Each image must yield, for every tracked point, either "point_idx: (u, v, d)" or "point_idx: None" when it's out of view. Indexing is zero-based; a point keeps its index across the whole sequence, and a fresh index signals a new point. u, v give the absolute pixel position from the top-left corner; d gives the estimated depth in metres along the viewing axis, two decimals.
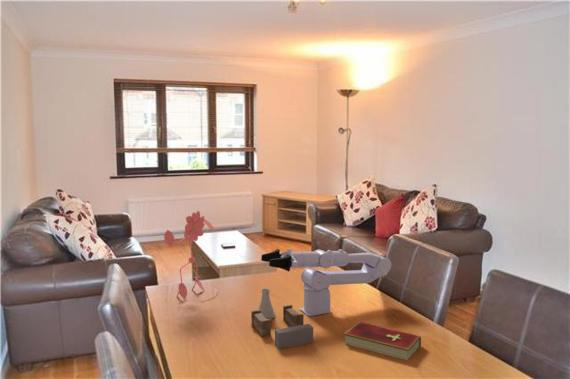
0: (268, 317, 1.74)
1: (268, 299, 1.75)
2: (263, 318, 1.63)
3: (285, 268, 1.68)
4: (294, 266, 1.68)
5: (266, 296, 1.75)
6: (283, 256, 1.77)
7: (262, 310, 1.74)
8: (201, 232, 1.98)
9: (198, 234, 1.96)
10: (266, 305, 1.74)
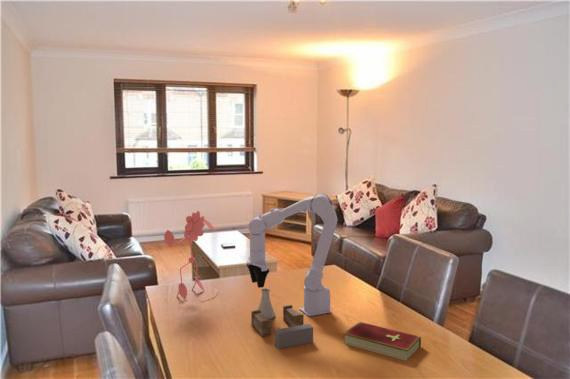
0: (268, 317, 1.74)
1: (268, 299, 1.75)
2: (263, 318, 1.63)
3: (266, 273, 1.78)
4: (265, 269, 1.76)
5: (266, 295, 1.75)
6: None
7: (262, 310, 1.74)
8: (201, 232, 1.98)
9: (198, 234, 1.96)
10: (266, 305, 1.74)
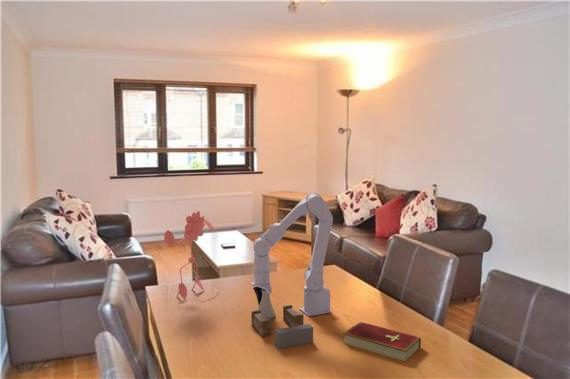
0: (268, 317, 1.74)
1: (268, 299, 1.75)
2: (263, 318, 1.63)
3: None
4: (270, 291, 1.73)
5: (267, 295, 1.74)
6: None
7: (262, 310, 1.74)
8: (201, 232, 1.98)
9: (198, 234, 1.96)
10: (266, 305, 1.74)
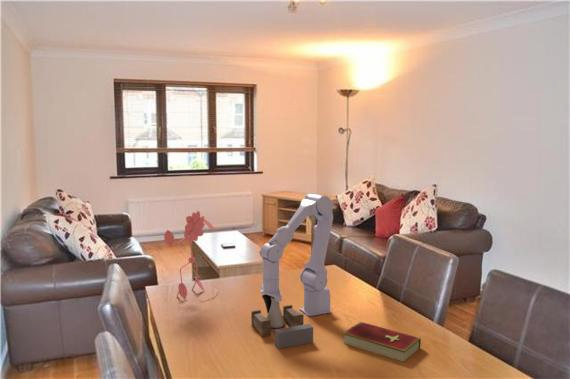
0: (278, 325, 1.66)
1: (278, 307, 1.67)
2: (263, 318, 1.63)
3: None
4: (280, 300, 1.64)
5: (277, 303, 1.66)
6: None
7: (272, 318, 1.66)
8: (201, 232, 1.98)
9: (198, 234, 1.96)
10: (276, 313, 1.66)
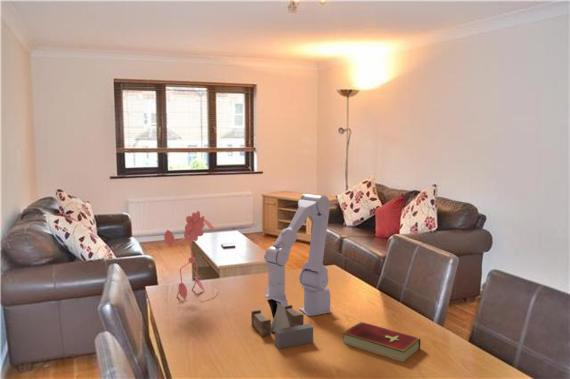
0: None
1: (284, 312, 1.62)
2: (263, 318, 1.63)
3: None
4: (286, 304, 1.60)
5: (282, 308, 1.62)
6: None
7: (278, 323, 1.62)
8: (201, 232, 1.98)
9: (198, 234, 1.96)
10: (282, 318, 1.62)
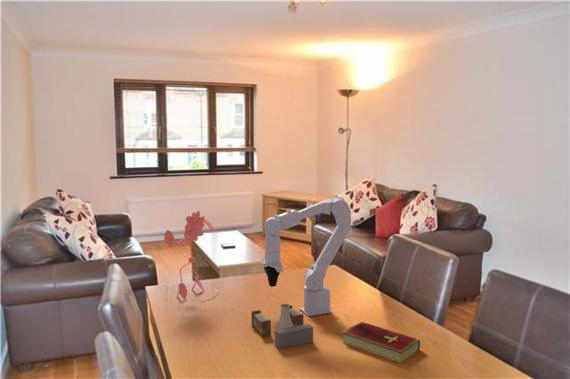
0: None
1: (288, 315, 1.60)
2: (263, 318, 1.63)
3: (278, 272, 1.78)
4: (281, 270, 1.73)
5: (287, 312, 1.59)
6: None
7: None
8: (201, 232, 1.98)
9: (198, 234, 1.96)
10: (287, 322, 1.59)
